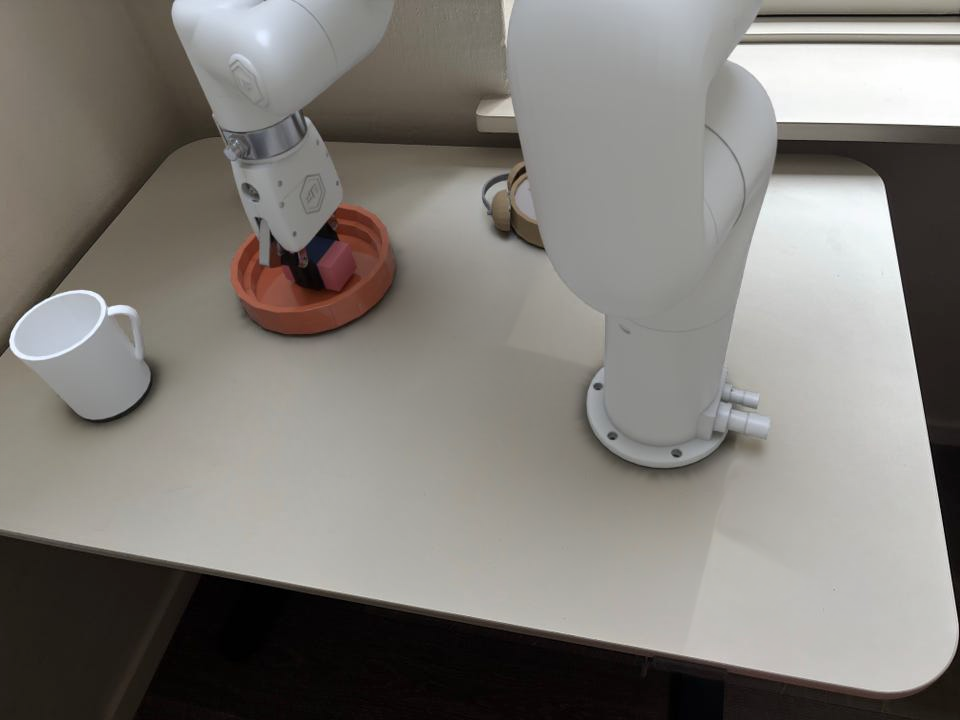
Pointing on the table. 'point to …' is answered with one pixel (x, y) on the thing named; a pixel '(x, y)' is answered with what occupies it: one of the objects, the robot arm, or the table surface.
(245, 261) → the bowl
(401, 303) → the table surface
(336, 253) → the eraser
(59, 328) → the mug
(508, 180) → the alarm clock
